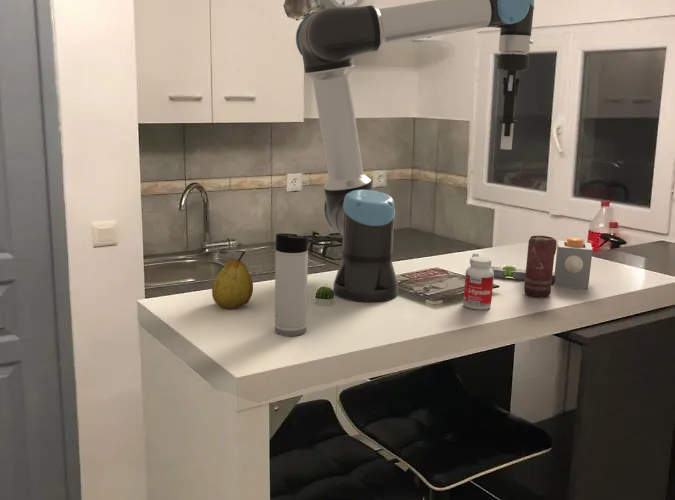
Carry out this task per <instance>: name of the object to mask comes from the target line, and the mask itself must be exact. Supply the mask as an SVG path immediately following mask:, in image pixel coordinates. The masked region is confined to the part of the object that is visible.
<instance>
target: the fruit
mask: <svg viewBox="0 0 675 500" xmlns="http://www.w3.org/2000/svg"><path fill="white" fill-rule="evenodd" d="M245 254H246V252H245V251H242V252H241V255H240V256H239V257H238V259H237V258H232V259H231V260H229V261H228V262H227V263H226V264H225V266H223V268H222V269H221V271H220V272H218V274H217V275H216V277H215V278H214V280H213V283H212V287H211V295H212V300H214V302H215V304H216V305H217V306H218V307H220V308H223V309H226V310H233V309H235V310H236V309H238V308H241V307H243V306H245V305H247V304H248V303H249V301H250V300H251V298H252V295H253V292H254V284H253V283H254V282H253V279H252V276H251V274H250V272H249V269H248V268H247V265H246V264H245V263H244V262H242V261H241V259H242V258H243V256H244V255H245Z"/></svg>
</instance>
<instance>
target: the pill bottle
mask: <svg viewBox="0 0 675 500" xmlns="http://www.w3.org/2000/svg"><path fill="white" fill-rule="evenodd" d="M490 267H492V259H491V258H490V257H485V256H479V257H472V256H471V257H470V258H469V266H468V267H467V268H466V270H465V277H464V291H463V300H462V301H463V303H462V304H463V306H464V307H465V308H467V309H470V310H475V311H477V310H478V311H485V310H488V309H490V308H492V307H491V306H492V301H493V300H492V299H493V287H494V278H495V277H494V272H493V270H492V269H491V268H490Z"/></svg>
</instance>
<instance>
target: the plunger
mask: <svg viewBox="0 0 675 500" xmlns="http://www.w3.org/2000/svg"><path fill="white" fill-rule="evenodd" d="M566 241H567V244H566V246H568V247H580V248H583V243H585V242H584V241H585V240H584V239H582V238H580V237H579V238H578V237H567V238H566Z"/></svg>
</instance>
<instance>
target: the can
mask: <svg viewBox="0 0 675 500" xmlns="http://www.w3.org/2000/svg"><path fill="white" fill-rule="evenodd" d="M557 245H558V240H557V239H556V238H554V237H551V236H546V235H531V236H530V238H529V240H528V245H527V254H526V255H527V256H526V266H525V270H526V275H525V280H524V285H523V286H524V288H523V293H524V294H525V296H527V297H530V298H535V299H545V298H546V297H547V298H548V297H550V295H551V290H552V284H553V283H552V274H553V273H554V272H553V271H554V265H555V264H554V263H555V255H556V254H557Z"/></svg>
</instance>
